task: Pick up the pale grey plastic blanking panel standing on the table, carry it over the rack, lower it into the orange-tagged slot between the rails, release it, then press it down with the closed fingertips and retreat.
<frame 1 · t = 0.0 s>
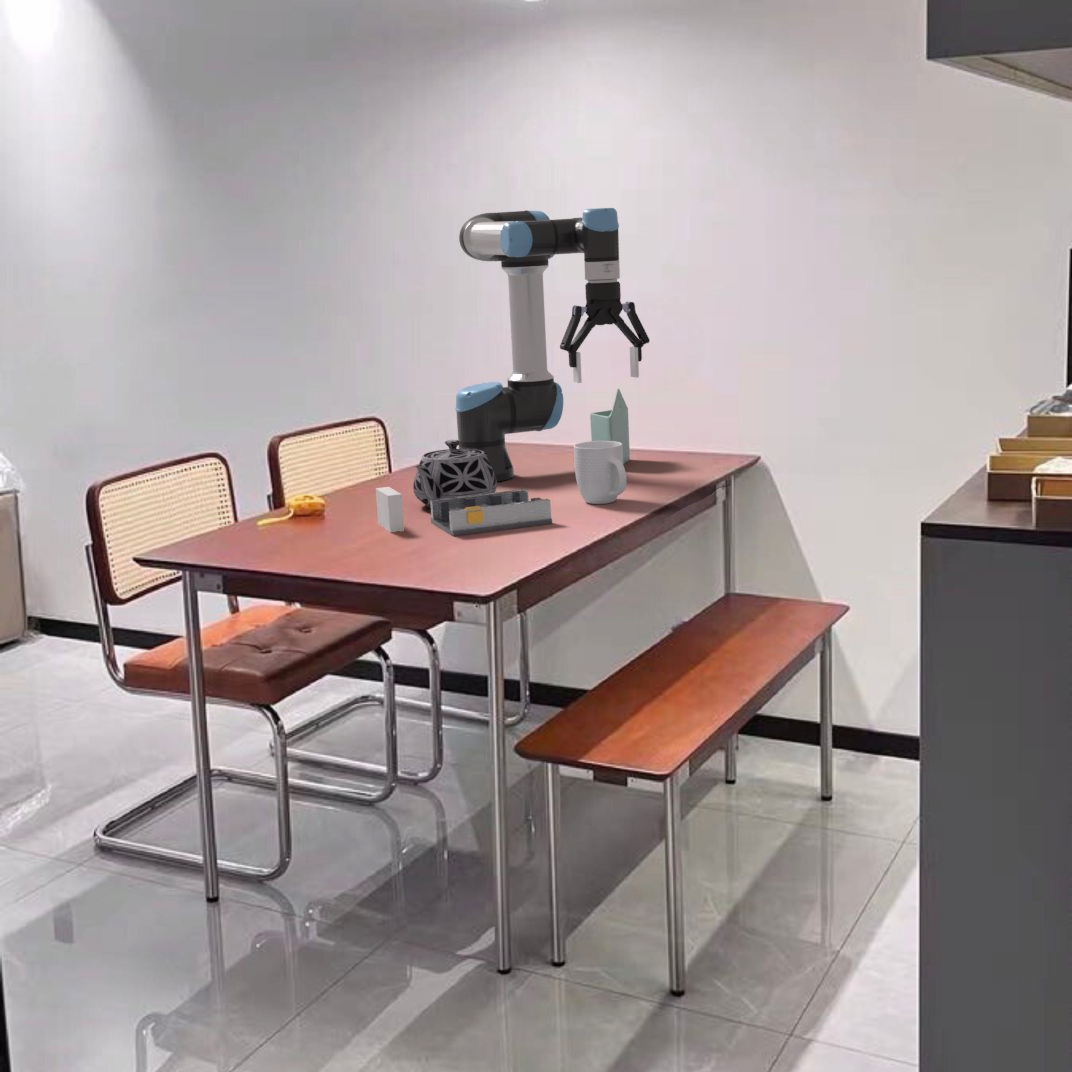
hand: (606, 379, 322), 28 cm above the table, fingers open, 13 cm apart
rack: (490, 522, 316), on the table
teapot: (454, 506, 337), on the table
planter: (607, 465, 379), on the table
mug: (603, 503, 332), on the table
panel: (390, 527, 317), on the table
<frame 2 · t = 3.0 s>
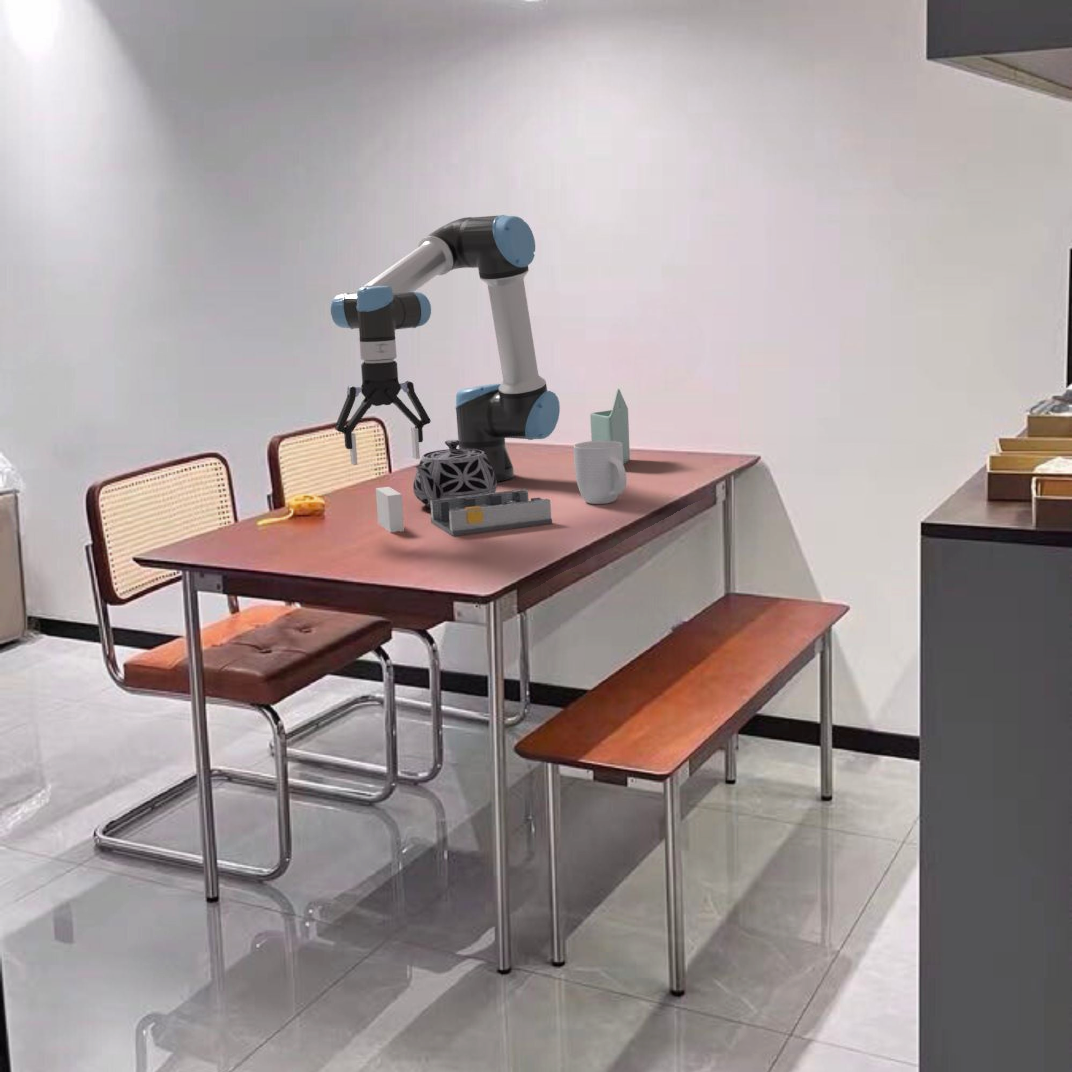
hand: (385, 461, 313), 14 cm above the table, fingers open, 13 cm apart
nothing on the table moved.
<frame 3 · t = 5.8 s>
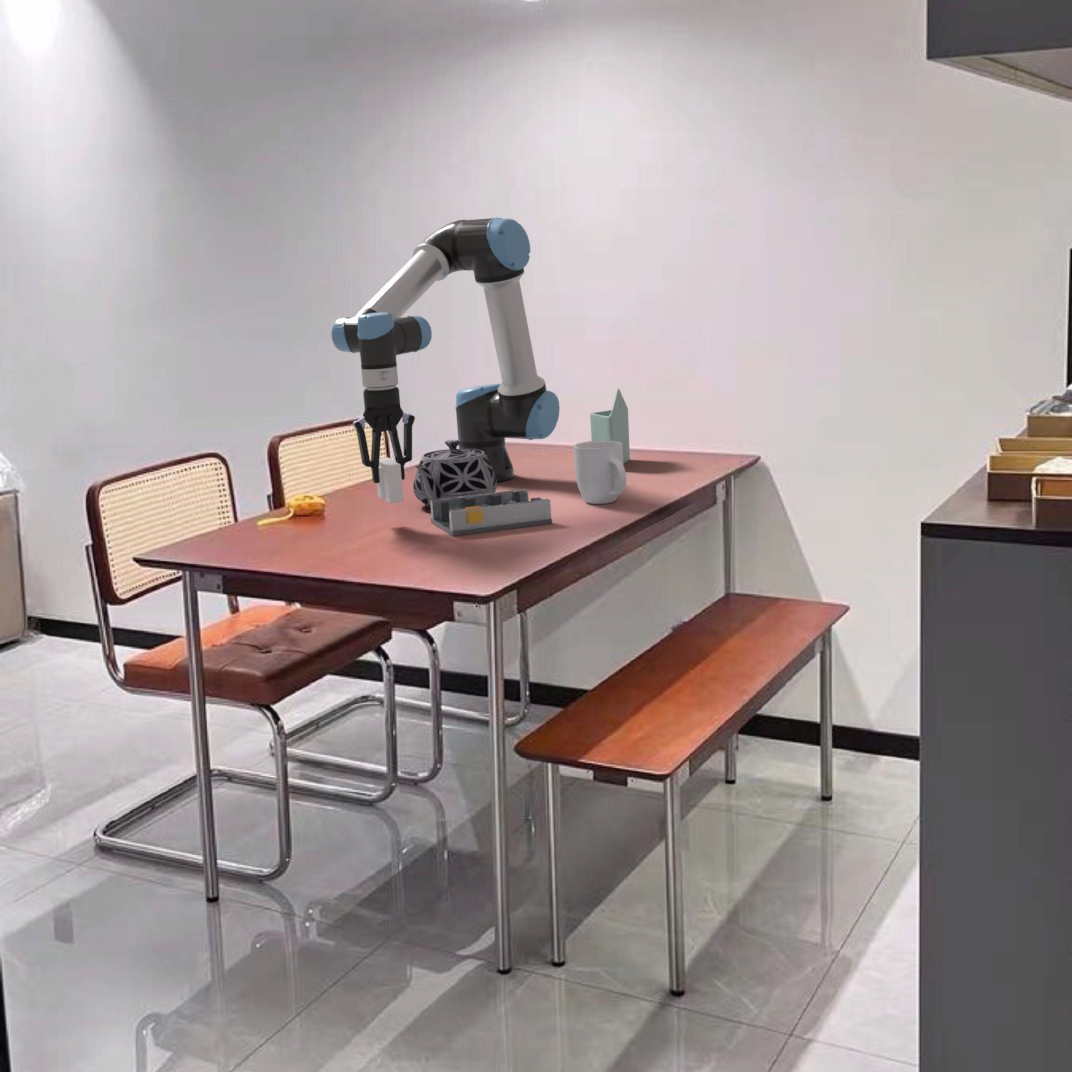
hand: (390, 496, 316), 7 cm above the table, fingers closed on panel, 3 cm apart
panel: (390, 498, 316), point 6 cm above the table, touching gripper
everything else where it was.
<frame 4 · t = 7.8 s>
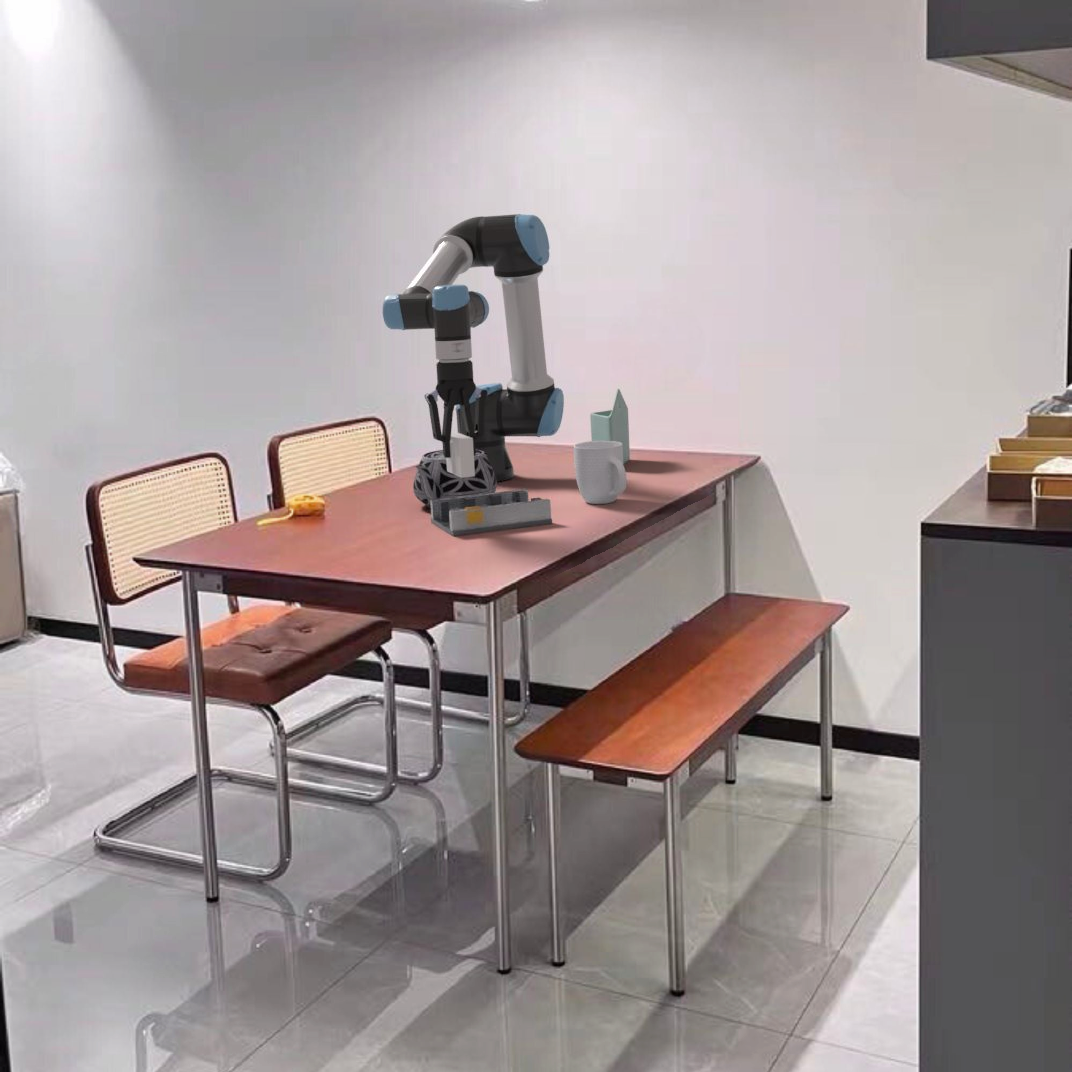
hand: (460, 471, 311), 12 cm above the table, fingers closed on panel, 3 cm apart
panel: (460, 473, 311), point 11 cm above the table, touching gripper
everything else where it was.
when the fingers open (1 cm above the table, at t = 9.7 s): panel stays where it is, resting on rack.
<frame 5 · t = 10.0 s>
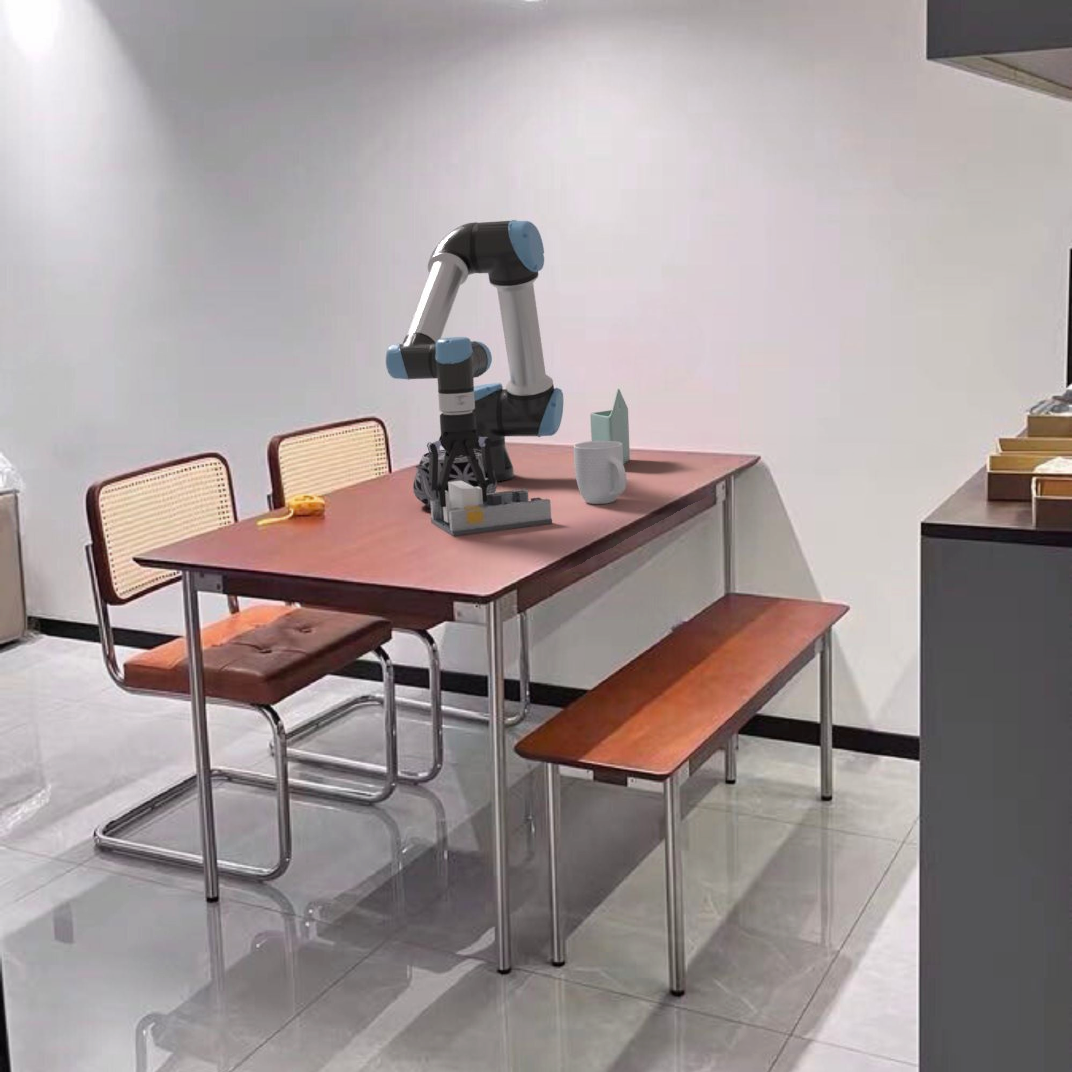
hand: (463, 519, 314), 2 cm above the table, fingers open, 7 cm apart
panel: (464, 521, 314), point 1 cm above the table, touching rack
everything else where it was.
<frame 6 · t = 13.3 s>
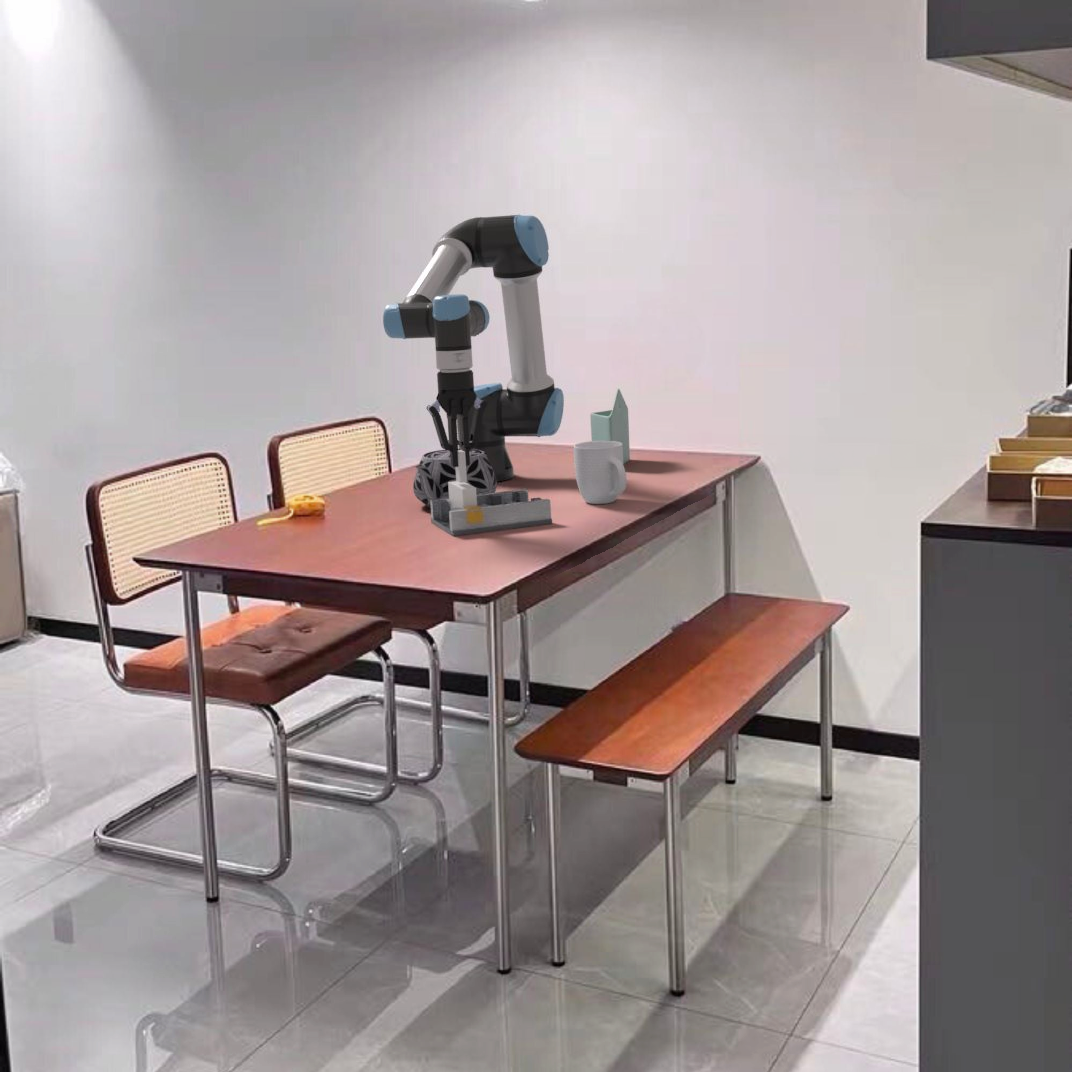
hand: (461, 481, 312), 10 cm above the table, fingers closed
nothing on the table moved.
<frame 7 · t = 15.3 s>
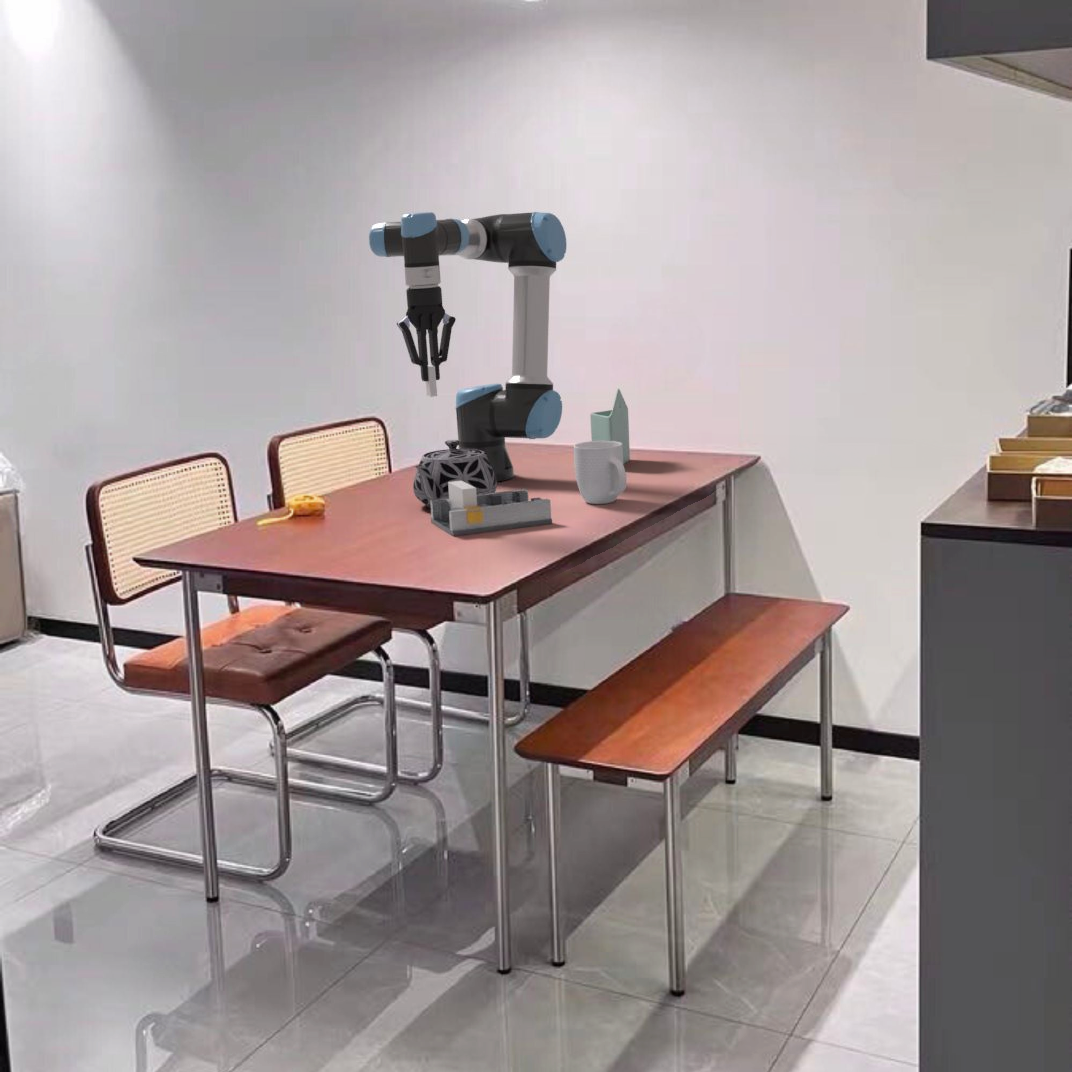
hand: (432, 395, 321), 27 cm above the table, fingers closed
nothing on the table moved.
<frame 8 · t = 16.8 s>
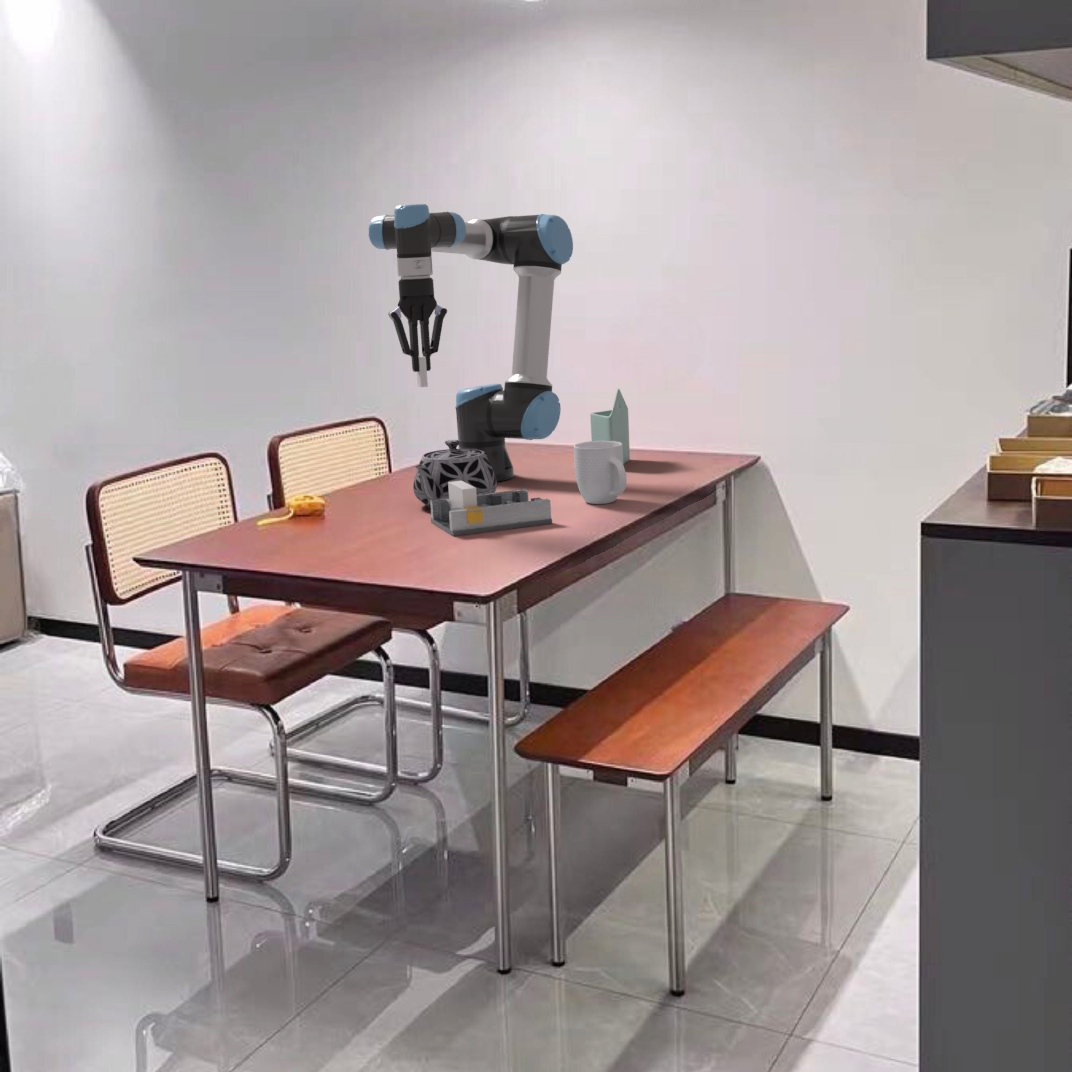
hand: (422, 386, 324), 28 cm above the table, fingers closed
nothing on the table moved.
at the end: panel 0.2 cm from the target spot on the rack, point 1.0 cm above the rack's base; panel tilted 0°; the gripper is holding nothing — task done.
